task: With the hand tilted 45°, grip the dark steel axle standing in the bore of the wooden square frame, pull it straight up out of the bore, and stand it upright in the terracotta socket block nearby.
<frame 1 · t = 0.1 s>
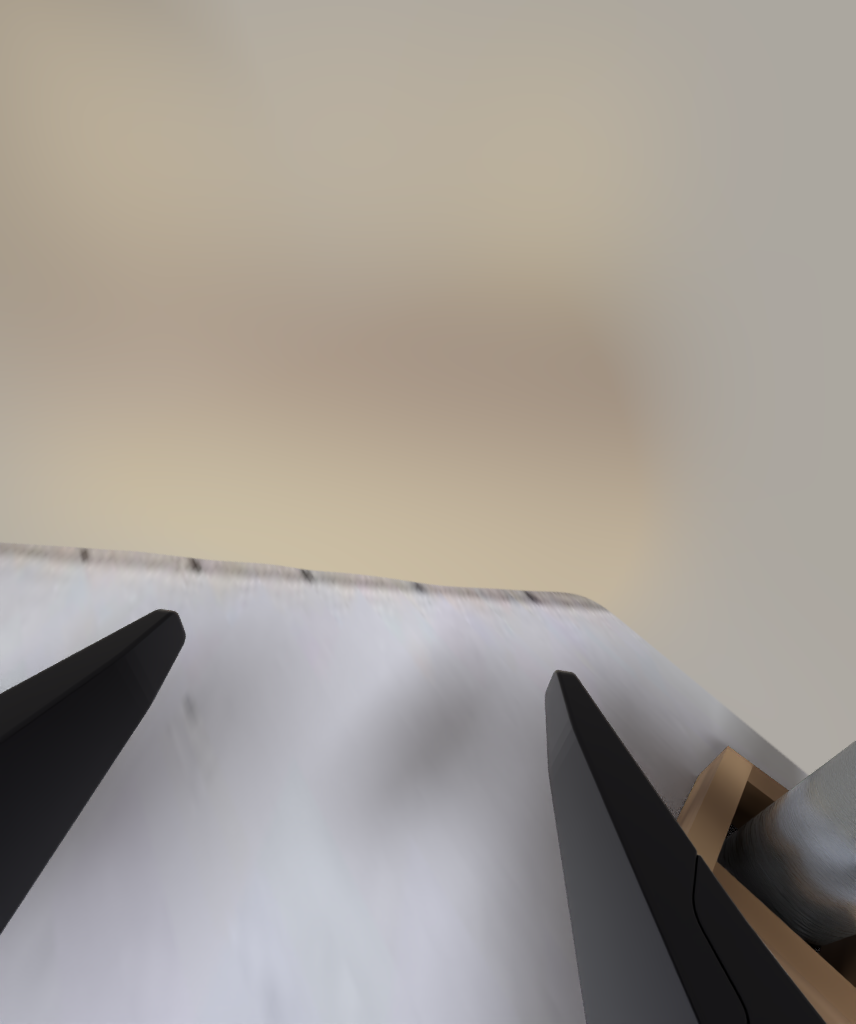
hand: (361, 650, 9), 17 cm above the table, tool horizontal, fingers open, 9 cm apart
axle: (843, 846, 15), in the wooden square frame
wooden square frame: (754, 895, 19), on the table
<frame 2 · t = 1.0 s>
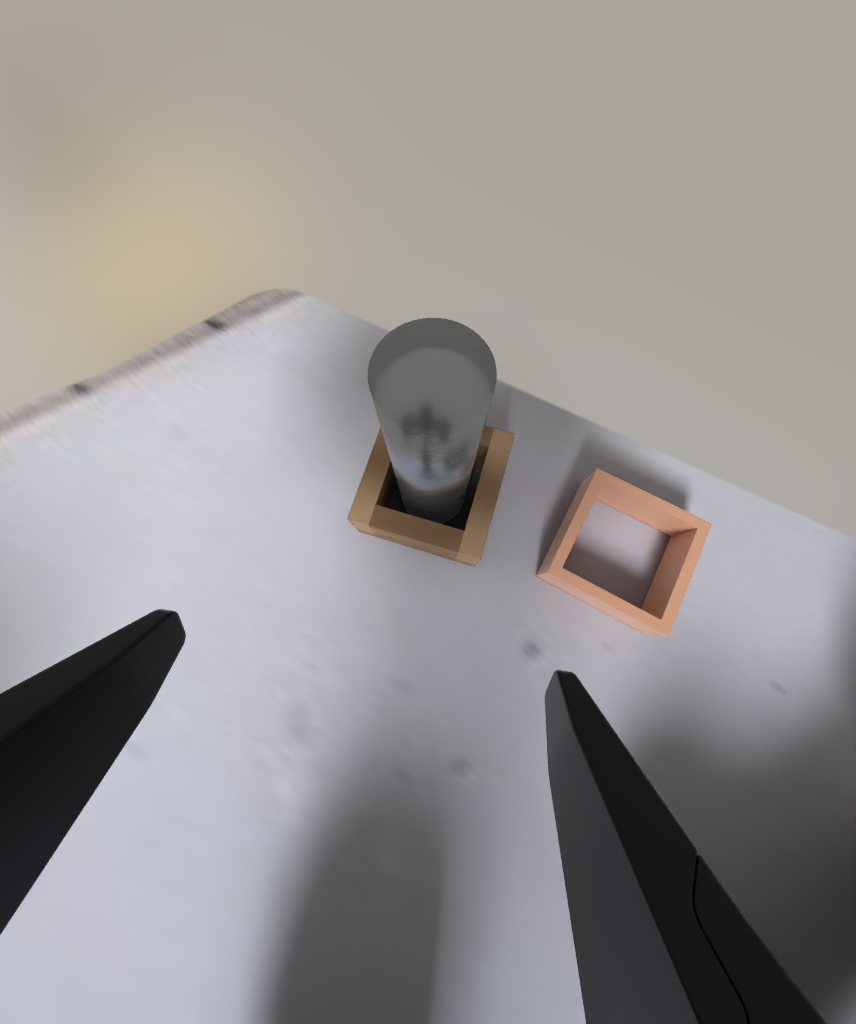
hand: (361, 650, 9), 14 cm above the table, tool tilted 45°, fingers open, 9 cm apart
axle: (432, 454, 18), in the wooden square frame
wooden square frame: (433, 493, 25), on the table
socket block: (610, 554, 23), on the table
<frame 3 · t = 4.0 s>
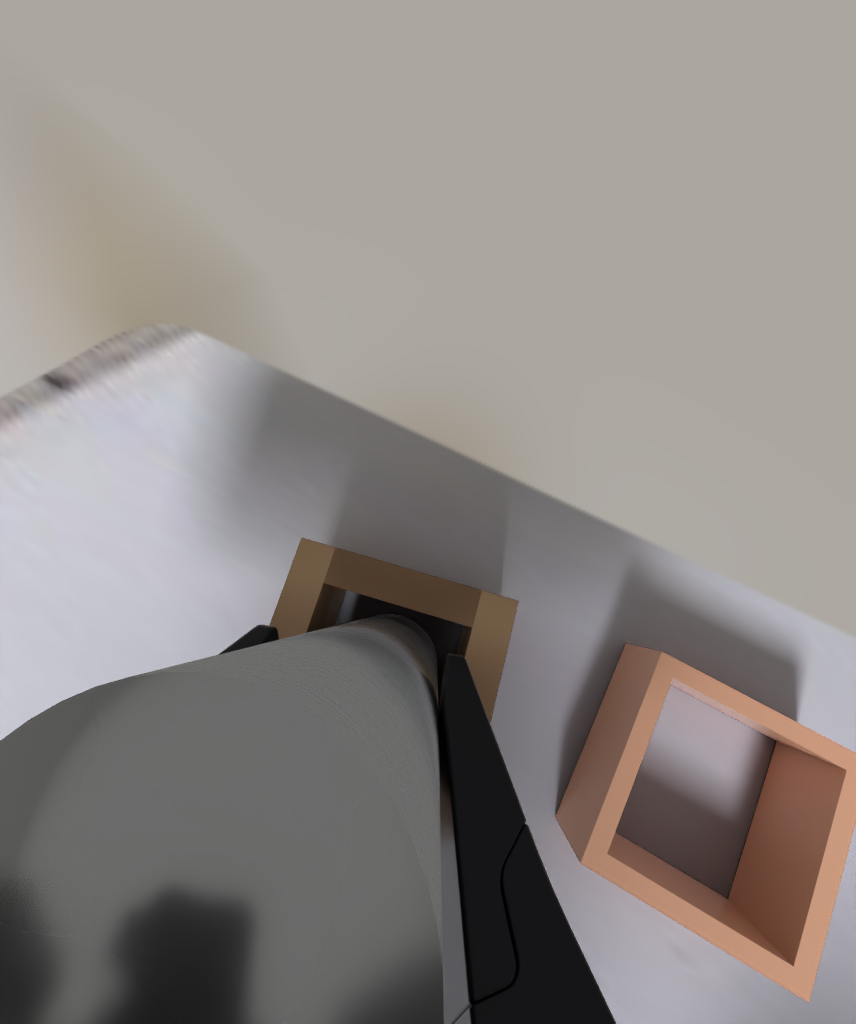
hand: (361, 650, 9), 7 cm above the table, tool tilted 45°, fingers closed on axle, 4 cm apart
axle: (351, 713, 9), in the wooden square frame, touching gripper
wooden square frame: (386, 666, 15), on the table
socket block: (678, 774, 14), on the table
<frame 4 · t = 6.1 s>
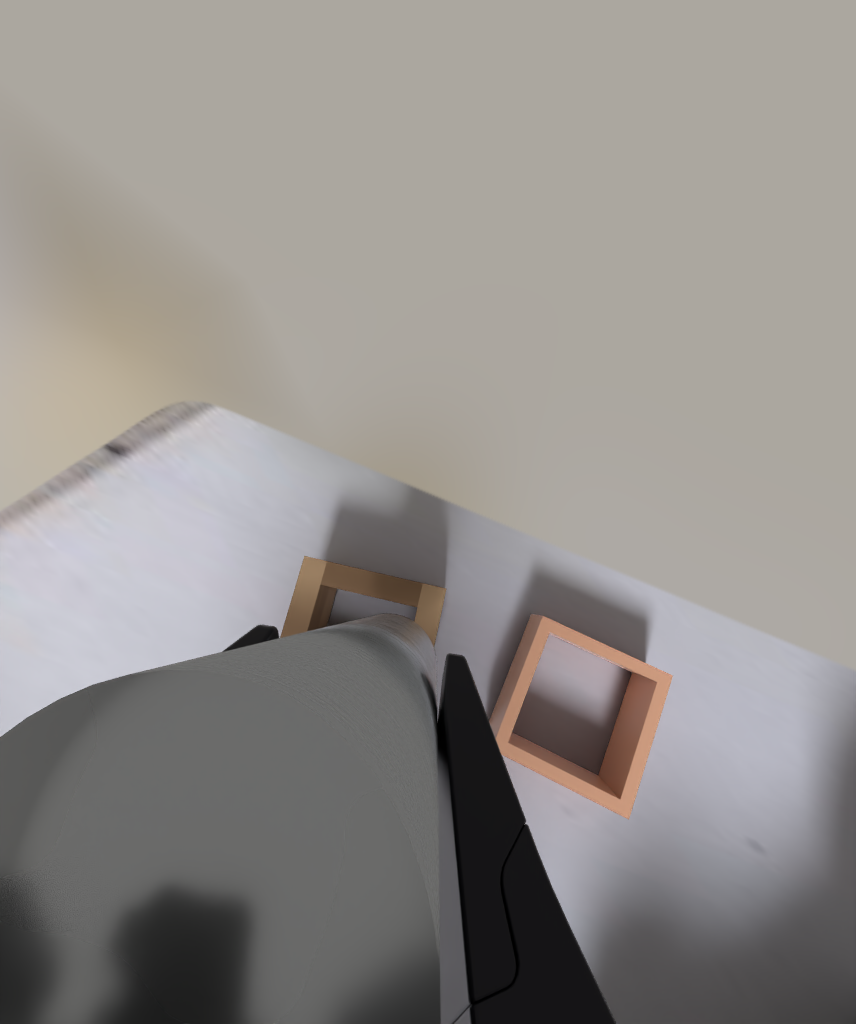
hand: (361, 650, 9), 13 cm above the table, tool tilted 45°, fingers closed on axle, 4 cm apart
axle: (350, 712, 9), point 13 cm above the table, touching gripper
wooden square frame: (367, 640, 22), on the table
socket block: (566, 698, 21), on the table
when the fingers open (8 cm above the table, at t = 8.5 s): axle drops 1 cm, resting in socket block.
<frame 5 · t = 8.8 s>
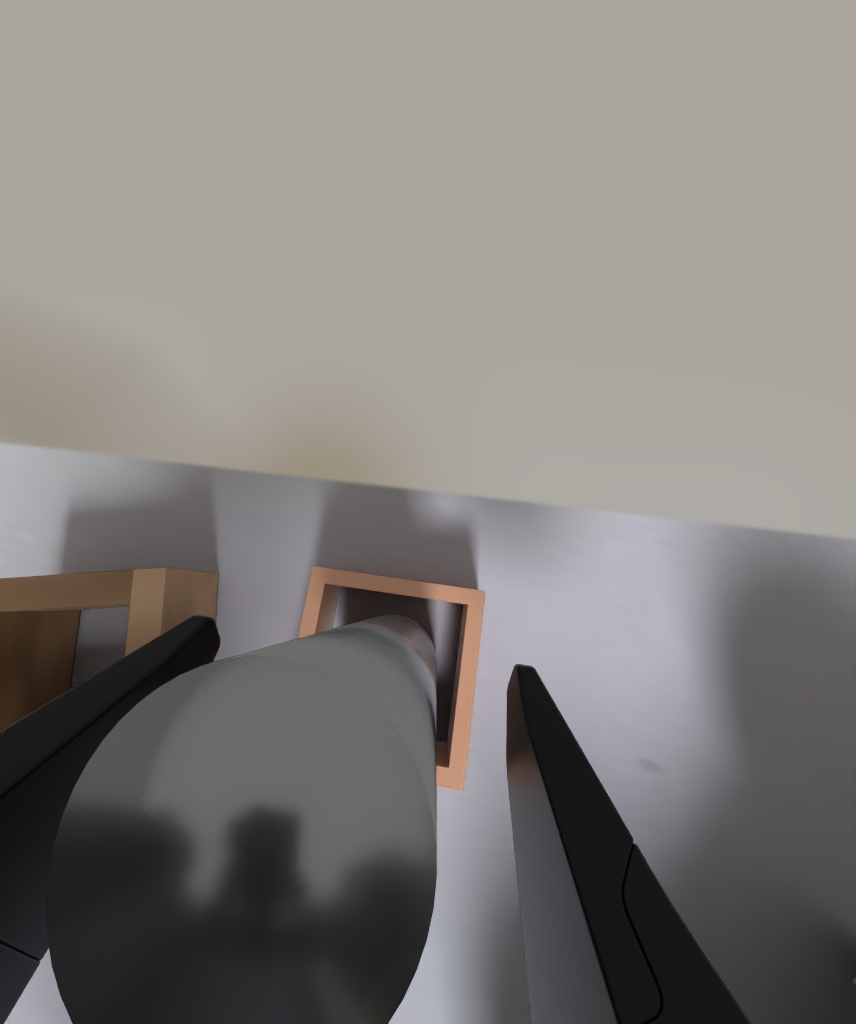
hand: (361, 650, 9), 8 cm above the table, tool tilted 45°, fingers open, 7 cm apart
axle: (361, 700, 10), in the socket block
wooden square frame: (129, 664, 17), on the table
socket block: (391, 660, 17), on the table
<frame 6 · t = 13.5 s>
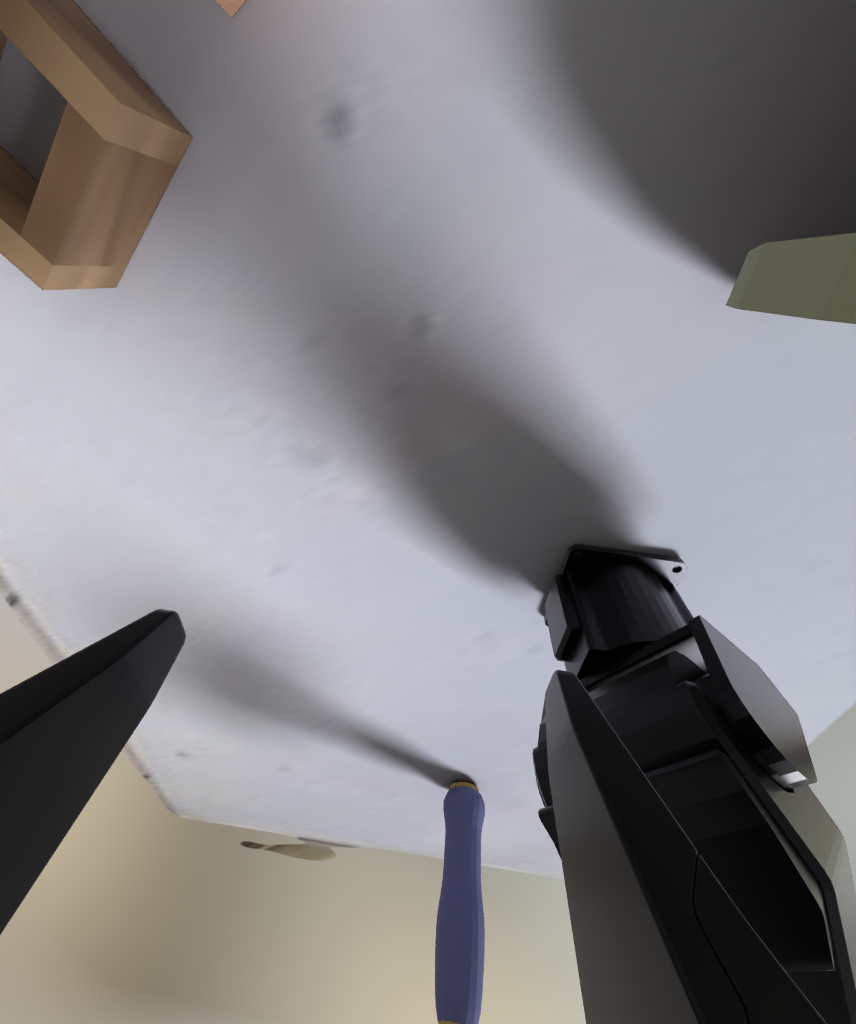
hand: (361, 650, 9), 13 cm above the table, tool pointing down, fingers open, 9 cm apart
rubber mallet: (464, 784, 39), on the table
wooden square frame: (64, 132, 15), on the table
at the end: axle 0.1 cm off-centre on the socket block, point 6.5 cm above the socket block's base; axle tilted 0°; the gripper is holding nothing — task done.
